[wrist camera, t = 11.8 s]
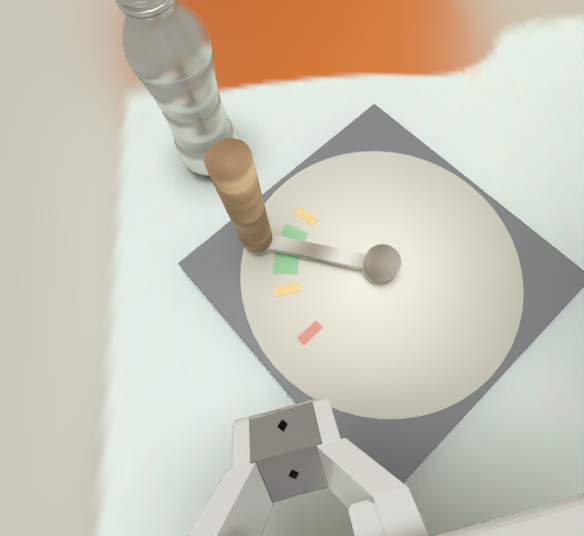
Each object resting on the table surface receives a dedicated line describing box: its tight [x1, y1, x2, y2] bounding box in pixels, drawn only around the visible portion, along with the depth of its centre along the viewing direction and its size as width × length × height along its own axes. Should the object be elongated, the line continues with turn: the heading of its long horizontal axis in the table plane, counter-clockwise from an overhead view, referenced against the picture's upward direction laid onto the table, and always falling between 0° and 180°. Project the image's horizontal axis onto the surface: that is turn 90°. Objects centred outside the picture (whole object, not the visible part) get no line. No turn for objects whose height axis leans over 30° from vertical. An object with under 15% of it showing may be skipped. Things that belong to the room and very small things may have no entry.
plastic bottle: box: [116, 0, 239, 176], centre depth 32 cm, size 6×7×20 cm
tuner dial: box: [178, 104, 584, 483], centre depth 36 cm, size 28×28×2 cm
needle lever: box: [204, 138, 401, 285], centre depth 29 cm, size 15×3×14 cm, turn 76°
